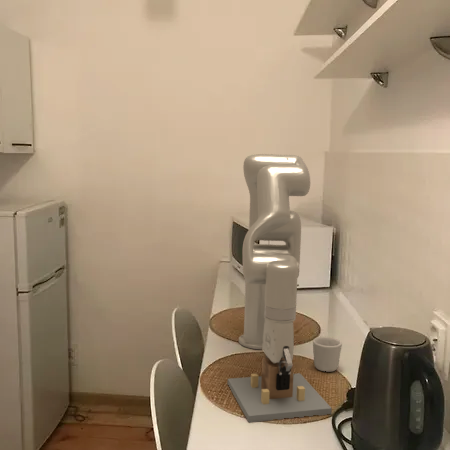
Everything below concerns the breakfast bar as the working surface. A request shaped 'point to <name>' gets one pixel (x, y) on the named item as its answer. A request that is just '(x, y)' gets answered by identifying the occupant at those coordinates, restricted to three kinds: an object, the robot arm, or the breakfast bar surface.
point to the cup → (326, 353)
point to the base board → (277, 400)
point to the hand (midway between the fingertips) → (277, 381)
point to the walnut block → (274, 379)
